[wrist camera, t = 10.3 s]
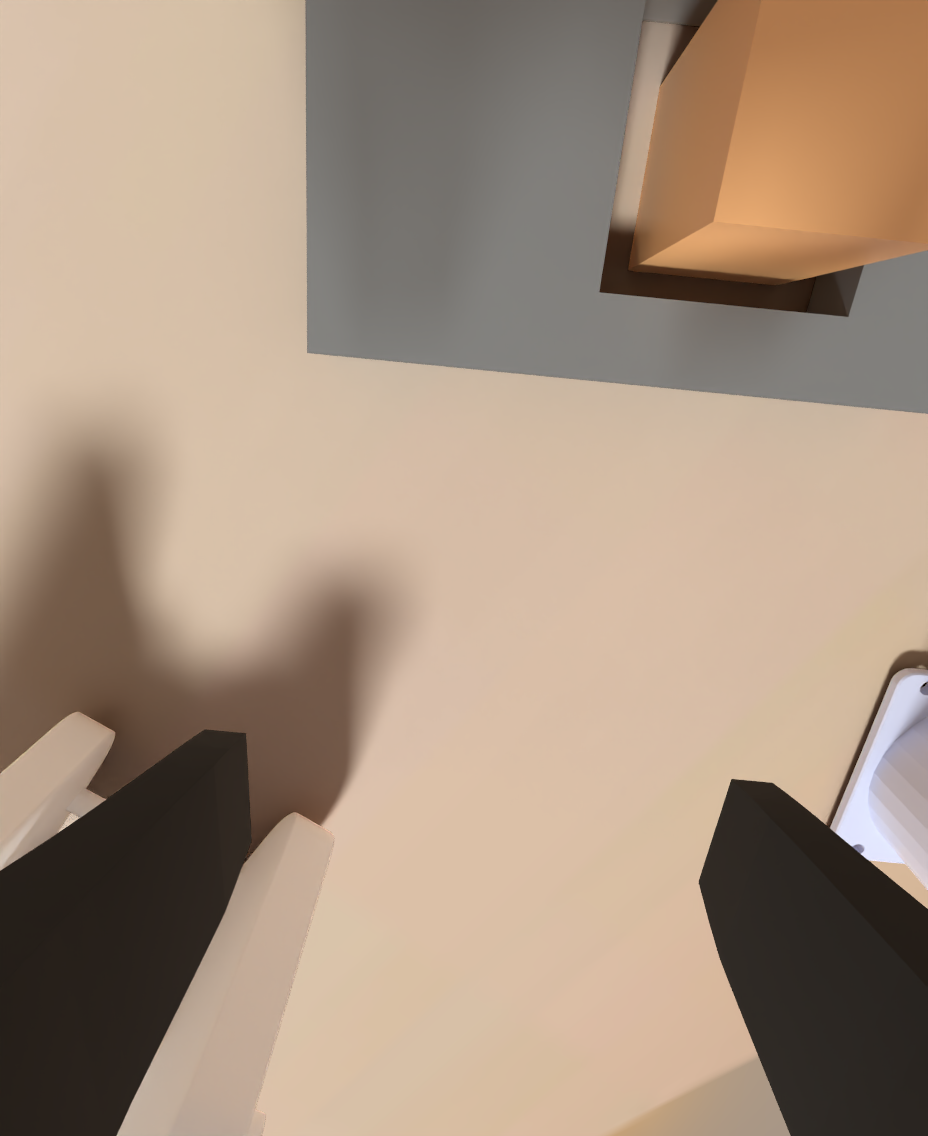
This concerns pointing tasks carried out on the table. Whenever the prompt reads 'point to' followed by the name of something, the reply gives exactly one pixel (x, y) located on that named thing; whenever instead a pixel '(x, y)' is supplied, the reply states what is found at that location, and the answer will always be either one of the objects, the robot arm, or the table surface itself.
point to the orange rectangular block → (789, 143)
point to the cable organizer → (231, 963)
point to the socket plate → (541, 215)
